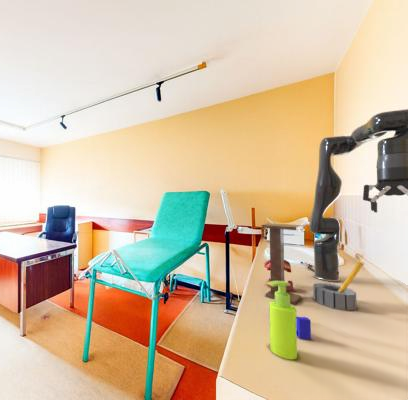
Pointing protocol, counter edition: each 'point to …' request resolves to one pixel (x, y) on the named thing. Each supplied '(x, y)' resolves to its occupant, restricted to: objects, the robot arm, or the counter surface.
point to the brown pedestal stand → (279, 257)
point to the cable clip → (303, 328)
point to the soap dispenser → (283, 323)
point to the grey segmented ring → (334, 296)
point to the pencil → (351, 276)
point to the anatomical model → (287, 268)
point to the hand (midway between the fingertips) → (394, 212)
